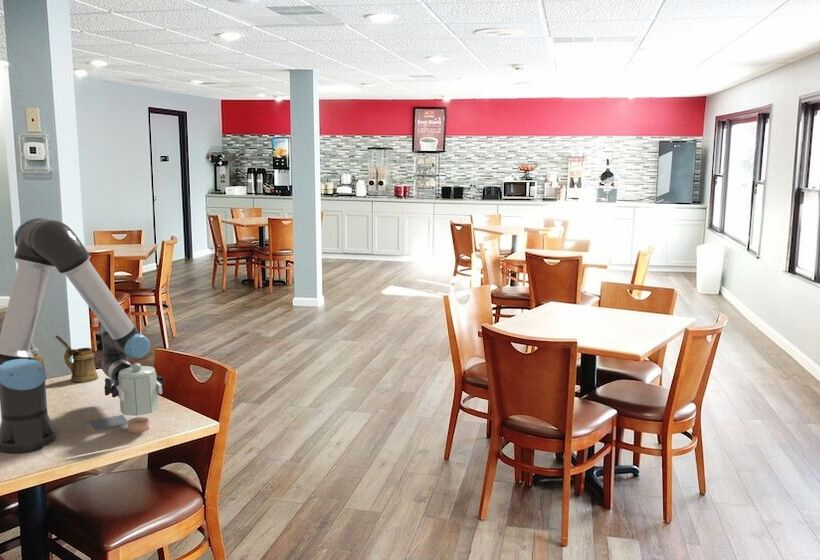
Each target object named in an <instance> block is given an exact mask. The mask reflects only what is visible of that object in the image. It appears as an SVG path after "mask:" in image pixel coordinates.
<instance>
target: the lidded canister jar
mask: <svg viewBox="0 0 820 560" xmlns="http://www.w3.org/2000/svg"><path fill="white" fill-rule="evenodd" d="M156 375H157V372H156V369H155V367H153V366H151V365H150V366H149V365H148V366H147V365H141V364H140V363H138V362H135V363H134V364H132V367H130V368H126V369H123V370H121V371H119V375H118V382H119V387H120V388H121V389H122V390H123V391H124V399H125V400H124V401H121V399H120V398H119V406H120V407H119V409H120V413H122V415H123V416H135V417H140V416H143V415H150V414H152V413H154V412H155V411H157V410H159V393H158V392H157V376H156Z"/></svg>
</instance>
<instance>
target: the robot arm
mask: <svg viewBox="0 0 820 560" xmlns="http://www.w3.org/2000/svg"><path fill="white" fill-rule="evenodd" d="M14 243H15V247H16V250H15V254H14V256H13V257H14V258H13V259H14V261H15V262H16V264H17V269H16V273H15V277H14V281H13V285H12V288H11V291H10V295H9V299H8V303H7V308H6V312H5V314H4V319H3V323H2V326H1V330H0V417H1V422H0V452H2V453H10V454H14V453H15V454H17V453H18V454H19V453H27V452H32V451H36V450H37V451H38V450H40V449H43V447H46V446H47V445H50V444H52V443H54V441H55V440H57V439H56V438H57V433H56V428H55V426H54V425H53V422H52V420H51V419H50V416H49V414H48V401H47V387H46V381H45V373H46V371H45V372H44V368H45V366H44V367H43V365H42V364H41V363H40V362H38V361H36V360H33V357H34V356H33V354H32V353H31V351H30V346H31V342H32V340H33V339H34V334H35V330H36V326H37V322H38V318H39V316H40V315H39V314H40V311H41V306H42V303H43V299H44V296H45V292H46V288H47V283H48V279H49V276H50V273H51V271H53V270H55V269H56V270H57V271H58V272H59V273H60V274H61V275H66V278H67V279H68V280H69V281H70V282H71V284H72V285H73V287H74V288H75V289H76V291H77V292H78V293H79V295H80V297H81V298H82V299H83V300H84V302H85V303H86V305H87V307H89V309H90V310H91V312H93V314H94V316H95V317H96V318H97V319H98V321H99V322H100V325H101V326H100V329H101V330H100V335H101V344H102V359H101V360H102V361H101V364H100V365H101V370H102V372H103V373H104V375H105V376H106V378H104V387H103V388H104V395H105V396H106V397H107V396H109V395H110V394H111V398H116V397H118V399H119V400H120V399H121V401H124V400H125V399H124V391H123V390H122V389H121V388H120V387H119V382H118V375H119V371H121V370H123V369H126V368H130V367H132V366H133V364H132V363H131V362H129V358H132V359H142V358H144V357H146V355H147V354H148V353H149V351H150V348H151V342H150V340H149V339H148V337H146V336H145V335H143V334H141V333H140V332H139V330H138V329H137V327H136V326H135V325H134V323H133V322H132V320H131V319H130V317H129V315H127V313H126V312H125V310H124V309H123V307H122V305H120V303H119V302H118V300H117V299H116V297H115V296H114V294H113V293H112V292H111V290H110V289H109V287H108V285H107V284H106V283H105V281H104V280H103V279H102V277H101V276H100V274H99V273H98V271H97V270H96V269H95V267H94V266H93V263H91V261H90V259H91V254H90V253H89V252H88V250H87V248H86V247H85V246H84V244H83V243H82V241H81V240H80V239H79V237H78V235H77V234H76V233H75V232H74V231H73V229H72V228H71V227H70V226H68V225H67V224H66V223H64V222H61V221H59V220H54V219H47V218H42V217H41V218H40V217H38V218H36V217H35V218H31V219H28V220H25V221H24V222H22V223H21V224H20V225H19V226H18V227H17V229H16V230H15V233H14ZM156 376H157V392H158V395H162V394H163V387H164V386H165V385H166V384H165V377H164V376H161V375H160V374H159V375H158V374H156Z"/></svg>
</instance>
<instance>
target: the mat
mask: <svg viewBox="0 0 820 560" xmlns="http://www.w3.org/2000/svg"><path fill="white" fill-rule="evenodd" d="M88 422H89V424H90V425H91V426H92V428H93V430H94V431H102V430H107V429H112V428H119V427H123V426H128V419H127V418H126V417H125V415H124V414H118V415H114V416H109V417H104V418H103V417H102V418H97V419H94V420H93V419H91V420H88Z"/></svg>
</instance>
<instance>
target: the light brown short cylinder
mask: <svg viewBox="0 0 820 560" xmlns="http://www.w3.org/2000/svg"><path fill="white" fill-rule="evenodd" d="M127 421H128V425H127V432H128V433H130V434H141V433H145V432H148V431H149V430H150V418H149V417H147V416H146V417H145V416H135V417H133V418H130V419H127Z"/></svg>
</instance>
